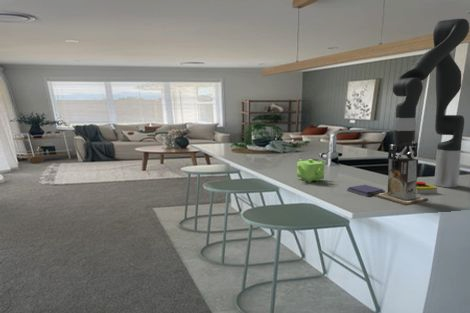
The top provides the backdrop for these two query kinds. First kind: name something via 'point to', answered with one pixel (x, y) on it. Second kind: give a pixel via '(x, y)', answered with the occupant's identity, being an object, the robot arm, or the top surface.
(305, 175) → the green knobbed block
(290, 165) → the top surface
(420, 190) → the emergency button
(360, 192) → the ink pad
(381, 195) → the marked board
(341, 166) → the top surface
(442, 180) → the robot arm
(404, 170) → the coffee box
